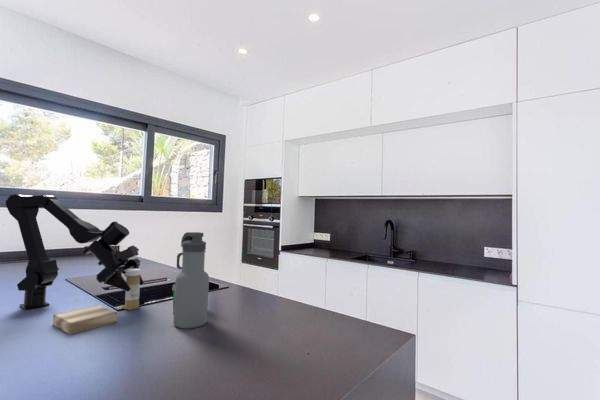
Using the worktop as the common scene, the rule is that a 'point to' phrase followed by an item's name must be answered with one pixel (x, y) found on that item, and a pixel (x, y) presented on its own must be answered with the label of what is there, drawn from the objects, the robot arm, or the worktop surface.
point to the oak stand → (84, 319)
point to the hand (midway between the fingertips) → (136, 287)
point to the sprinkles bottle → (132, 289)
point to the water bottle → (191, 283)
